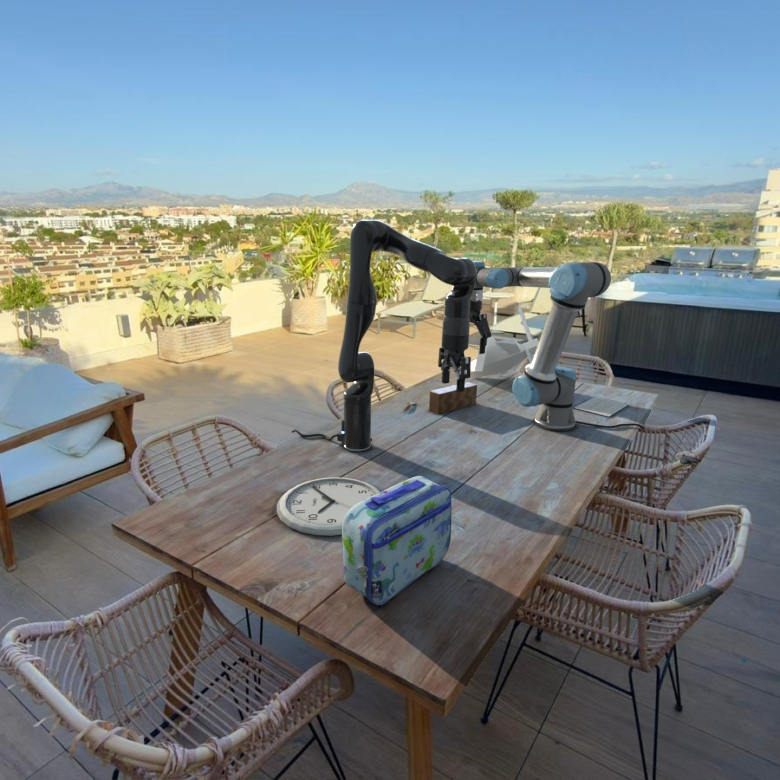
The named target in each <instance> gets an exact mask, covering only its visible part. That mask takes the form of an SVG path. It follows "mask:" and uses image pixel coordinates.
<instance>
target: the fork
mask: <svg viewBox="0 0 780 780" xmlns="http://www.w3.org/2000/svg"><path fill="white" fill-rule="evenodd" d="M418 398H419V397H418V396H413V397H412V398H411V400H410V402H409V404H408V405H407V406H406V407H405V409H404V410H403V412H405V411H407V410H408V409H410V408H411V406H412V405H416V404H417V402H418Z"/></svg>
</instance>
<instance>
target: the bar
mask: <svg viewBox="0 0 780 780" xmlns="http://www.w3.org/2000/svg"><path fill="white" fill-rule="evenodd" d="M456 386H457V384H453V385H449V386H444V387H440V388H436V389H432V390H429V402H428V403H429V404H428V405H429V406H428V411H429V412H431V413H433V414H436V415H442V414H445V413H449V412H452V411H456V410H461V409H463V408H466V407H467V408H468V407H470V406H473V405H474V406H475V405H477V394H478V393H477V392H478V384H476V383H474V382H469V381H465V386H464V387H465V388H464V391H463V392H458V391H456Z"/></svg>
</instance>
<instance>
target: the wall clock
mask: <svg viewBox="0 0 780 780" xmlns="http://www.w3.org/2000/svg"><path fill="white" fill-rule="evenodd" d="M380 492H382V491H381V490H380V489H379V488H377V487H376V486H374V485H372V484H371V483H369V482H365V481H362V480H359V479H355V478H349V477H338V476H337V477H335V476H333V477H332V476H331V477H322V478H317V479H312V480H307V481H305V482H302V483H299V484H297V485H295V486H293V487H292V488H290V489H288V490H287V491H286V492H285V493H284V494H283V495H281V496H280V498H279V499H278V502H277V503H276V515H277V517H278V518H279V520H280V521H281V522H282V523H283V524H285V525H286V526H287V527H288V528H290V529H293V530H295V531H297V532H299V533H303V534H308V535H312V536H327V537H328V536H329V537H331V536H332V537H333V536H342V525H343V521H344V518H345V516H346V514H347V512H348V511H349V510H350V509H351V508H352V507H353V506H354V505H356V504H358V503H360V502H362V501H364V500H366V499H368V498H370V497H372V496H374V495H376V494H378V493H380Z"/></svg>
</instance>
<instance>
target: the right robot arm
mask: <svg viewBox="0 0 780 780" xmlns="http://www.w3.org/2000/svg"><path fill="white" fill-rule="evenodd" d="M472 261H473V262H474V264H475V266H476V282H475V286H474V289H473V293H472V296H471V299H470V314H469V320H470V324H474V326H475V327H476V329H477V331H478V333H479V335H480V338H479V347H480V349H479V348H478V352H479V354H484V353H485V346H486V345H487V338H489V337H491V336H492V337H493V335H492V332H491V329H490V325H489V322H488V321H489V320H488V314H487V313H485V312H484V313H481V311H482V309H483V301H482V300H483V297H484V288H489V289H493V290H495V289H496V290H497V289H498V290H501V289H503V288H508V287H509V288H510V287H512V288H513V287H519V288H524V287H525V288H540V289H541V288H544V289H549V293H550V297H549V298H550V301H551V303H552V304H551V307H550V310H549V312H548V316H547V319H546V321H545V325H544V327H543V329H542V332H541V335H540V338H539V340H538V341H539V343H538V346H537V349H536V352H535V353H534V354H533V356H532V358H533V360H532V363H531V364H530V363H528V364H527V365H526V366H525V367H524V370H523V372H522V375H519V376H517V377H515V379H514V380H513V382H512V386H511V387H512V394H513V396H514V399H515V400H516V402H517V403H518V404H519V405H521V406H522V407H527V408H530V407H537V406H539V407H538V410H537V411H536V413H535V416H534V424H535V425H536V426H537V427H539V428H542V429H544V430H549V431H556V432H567V431H572V430H574V429H575V428H576V424H578V425H584V426H591V427H596V428H604V429H614V428H618V427H630V426H631V427H632V426H633V427H634V426H635V427H639V428H640V429H641V430H645V429H646V428H645V427H644V426H643V425H641V424H639V423H619V424H615V425H614V424H613V425H602V424H596V423H590V422H584V421H579V420H578V421H577V420H576V418H575V417H576V416H575V413H574V407H573V405H574V398H575V390H576V383H577V372H576V371H575V369H572V368H571V367H570V368H569V367H566V366H561V365H558V363H559V361H560V358H561V357H562V356H561V355H562V353H563V351H564V349H565V346H566V343H567V340H568V338H569V336H570V335H569V334H570V333H571V330H572V328H573V325H574V324H575V320H576V317H577V315H578V312H579V311H582V310H584V309H585V308H586V305H587V302H588V300H589V298H596V297H599V296H601V295H603V294H604V293H606V291H607V290H608V289H609V287H610V286H611V283H612V275H611V271H610V269H609V268H608V267H607V266H606V265H605V264H604V263H601V262H598V261H585V262H577V261H572V262H566V263H562V264H560V265H558V266H557V267H546V266H543V267H541V266H540V267H539V266H538V267H537V266H535V267H534V266H533V267H532V266H530V267H529V266H528V267H527V266H515V267H514V266H513V267H486V264H485V261H481V260H472ZM481 337H482V338H481Z"/></svg>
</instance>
